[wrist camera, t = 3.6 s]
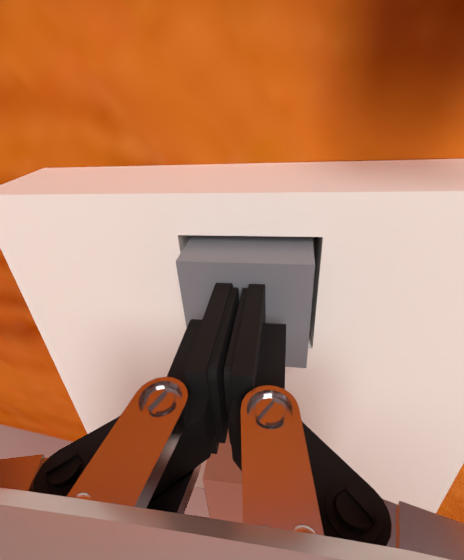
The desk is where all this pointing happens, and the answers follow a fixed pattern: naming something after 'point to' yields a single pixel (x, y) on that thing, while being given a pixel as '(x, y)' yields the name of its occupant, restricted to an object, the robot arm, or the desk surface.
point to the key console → (325, 302)
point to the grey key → (254, 280)
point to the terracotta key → (223, 485)
